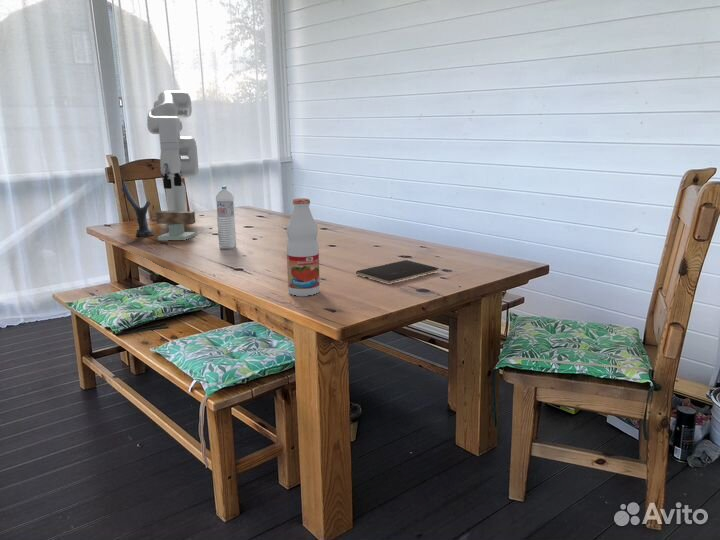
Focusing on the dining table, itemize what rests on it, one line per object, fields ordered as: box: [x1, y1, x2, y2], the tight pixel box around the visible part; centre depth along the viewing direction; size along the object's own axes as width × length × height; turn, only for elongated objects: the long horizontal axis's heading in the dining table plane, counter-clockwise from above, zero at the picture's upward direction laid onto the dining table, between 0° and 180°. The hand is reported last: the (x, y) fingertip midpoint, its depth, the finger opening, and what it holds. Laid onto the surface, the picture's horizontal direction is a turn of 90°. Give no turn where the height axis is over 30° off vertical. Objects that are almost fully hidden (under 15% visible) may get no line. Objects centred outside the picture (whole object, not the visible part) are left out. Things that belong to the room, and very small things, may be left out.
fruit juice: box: [286, 198, 321, 297], centre depth 170 cm, size 9×9×28 cm
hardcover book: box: [355, 259, 440, 283], centre depth 194 cm, size 16×23×2 cm
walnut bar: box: [155, 210, 196, 225], centre depth 254 cm, size 16×4×5 cm, turn 82°
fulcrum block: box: [157, 224, 197, 241], centre depth 255 cm, size 12×12×6 cm
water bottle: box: [215, 185, 237, 250], centre depth 232 cm, size 7×7×25 cm
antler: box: [120, 180, 154, 238], centre depth 257 cm, size 12×8×25 cm
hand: (173, 187), depth 251 cm, fingers open, 9 cm apart
